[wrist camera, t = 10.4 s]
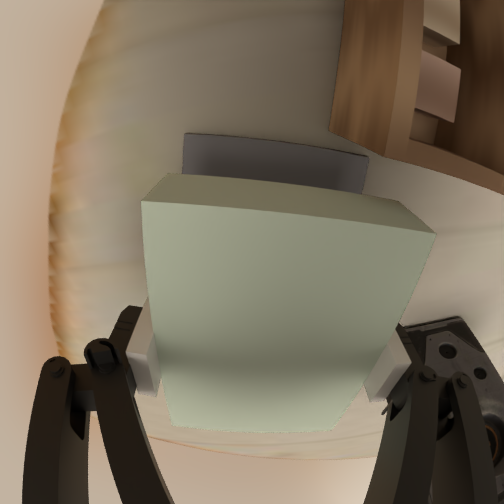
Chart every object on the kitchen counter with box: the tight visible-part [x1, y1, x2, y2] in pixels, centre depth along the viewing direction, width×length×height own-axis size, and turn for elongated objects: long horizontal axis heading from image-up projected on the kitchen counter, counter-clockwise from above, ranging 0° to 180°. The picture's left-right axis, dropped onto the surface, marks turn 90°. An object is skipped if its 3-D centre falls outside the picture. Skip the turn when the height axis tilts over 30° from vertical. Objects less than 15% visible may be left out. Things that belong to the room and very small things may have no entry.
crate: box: [329, 0, 504, 195], centre depth 9 cm, size 12×7×7 cm, turn 174°
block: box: [141, 173, 436, 433], centre depth 13 cm, size 12×9×4 cm
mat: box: [182, 133, 369, 194], centre depth 18 cm, size 14×10×1 cm
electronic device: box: [386, 318, 504, 504], centre depth 14 cm, size 9×6×20 cm, turn 94°
